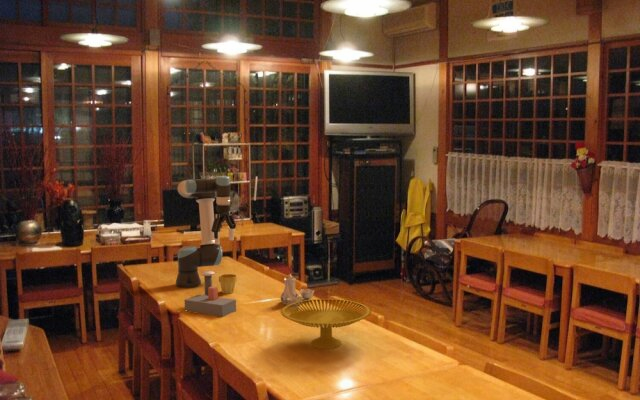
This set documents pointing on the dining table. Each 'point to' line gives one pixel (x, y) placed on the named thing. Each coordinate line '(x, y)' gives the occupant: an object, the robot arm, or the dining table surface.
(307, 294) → the chinaware
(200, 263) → the robot arm
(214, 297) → the tab
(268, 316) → the dining table surface
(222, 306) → the notched board
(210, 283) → the bobbin
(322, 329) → the pedestal fruit bowl
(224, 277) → the plant pot
